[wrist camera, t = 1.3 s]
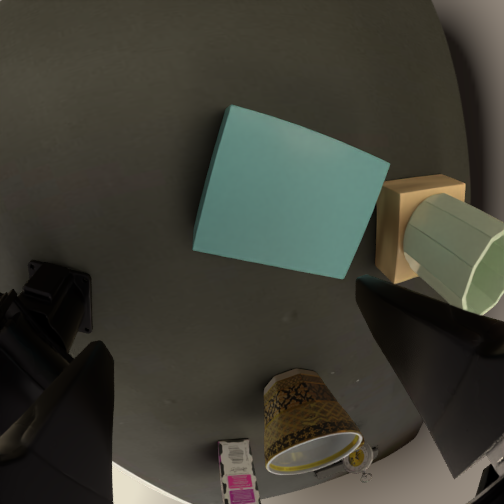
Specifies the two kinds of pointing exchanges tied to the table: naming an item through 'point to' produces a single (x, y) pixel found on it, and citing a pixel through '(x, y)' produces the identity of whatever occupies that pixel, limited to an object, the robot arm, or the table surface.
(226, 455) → the candy bar box
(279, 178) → the box
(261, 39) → the table surface
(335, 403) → the ceramic cup
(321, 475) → the phone
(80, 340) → the table surface
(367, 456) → the pocket watch
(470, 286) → the pale green faceted cup
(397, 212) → the tan block
